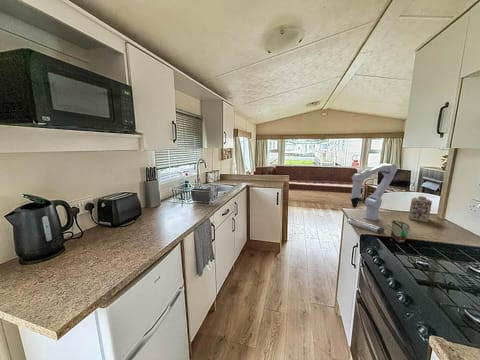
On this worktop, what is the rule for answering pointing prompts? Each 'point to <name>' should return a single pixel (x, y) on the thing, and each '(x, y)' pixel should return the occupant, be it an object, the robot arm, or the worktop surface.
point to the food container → (399, 230)
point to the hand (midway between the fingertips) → (354, 207)
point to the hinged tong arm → (369, 225)
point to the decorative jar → (420, 209)
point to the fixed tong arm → (364, 226)
